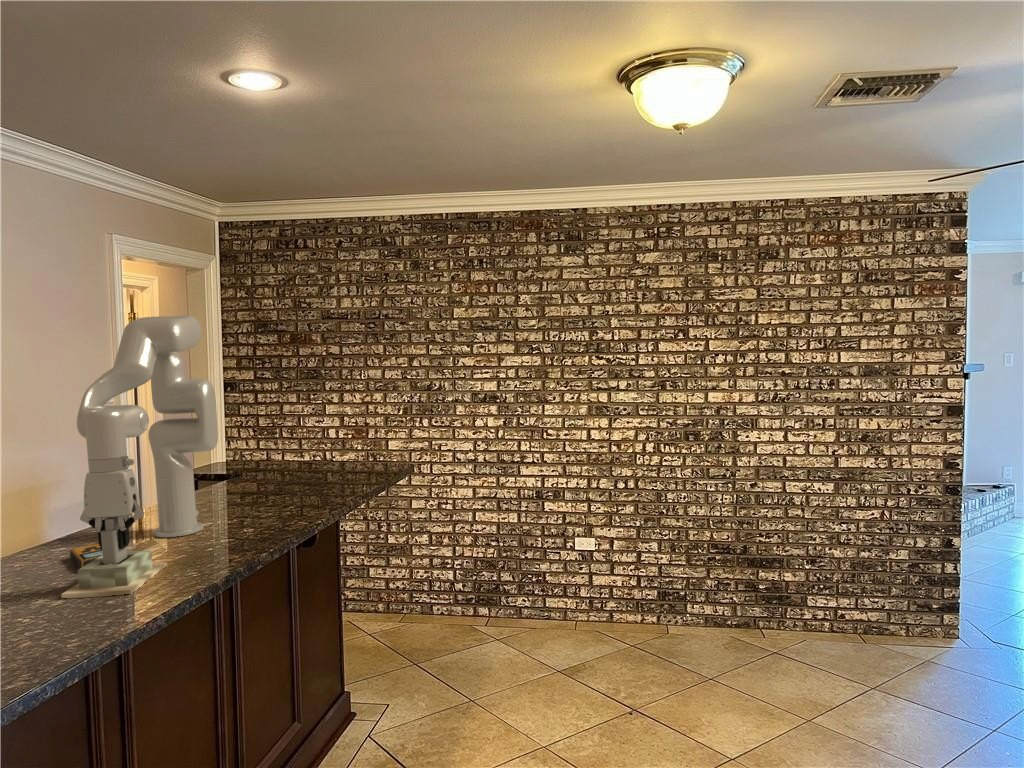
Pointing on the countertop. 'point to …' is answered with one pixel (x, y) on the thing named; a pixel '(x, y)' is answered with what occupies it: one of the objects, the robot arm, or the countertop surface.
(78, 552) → the electronic device
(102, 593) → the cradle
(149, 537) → the countertop surface
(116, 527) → the power adapter
